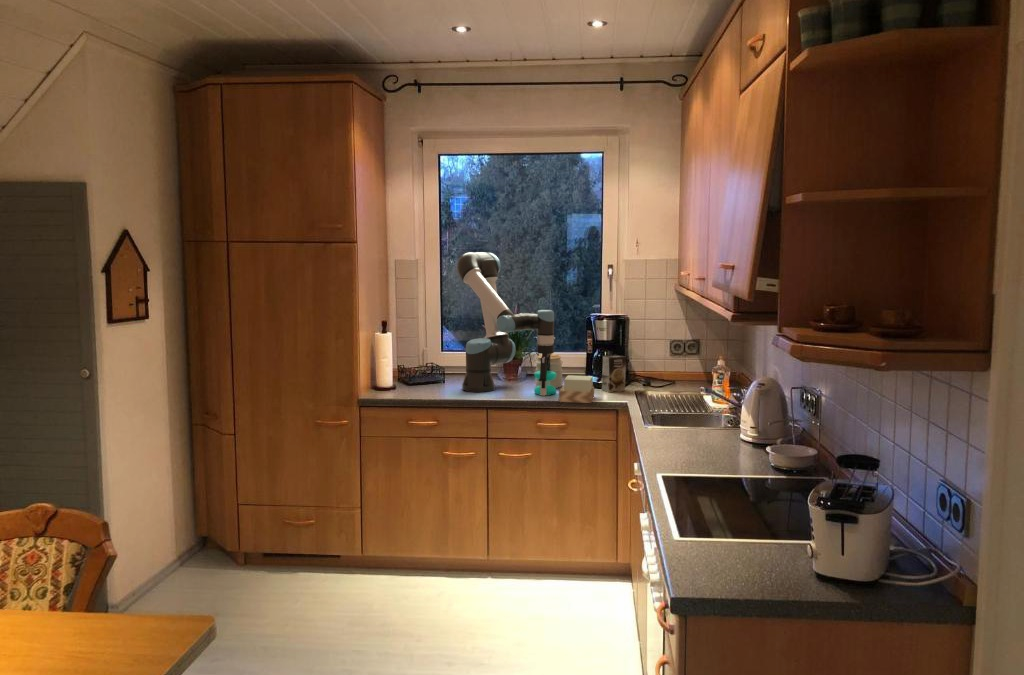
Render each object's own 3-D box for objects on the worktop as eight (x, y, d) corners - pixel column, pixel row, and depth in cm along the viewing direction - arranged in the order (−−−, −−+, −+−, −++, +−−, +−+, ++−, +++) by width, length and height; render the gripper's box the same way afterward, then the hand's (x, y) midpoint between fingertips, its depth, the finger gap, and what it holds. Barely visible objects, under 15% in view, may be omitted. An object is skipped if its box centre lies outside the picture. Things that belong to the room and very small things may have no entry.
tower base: (558, 402, 332) (558, 391, 331) (562, 396, 346) (562, 385, 345) (591, 403, 329) (591, 392, 329) (594, 397, 343) (594, 386, 342)
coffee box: (609, 392, 353) (610, 357, 351) (601, 390, 359) (602, 355, 357) (625, 390, 357) (626, 356, 355) (617, 388, 363) (618, 354, 361)
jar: (539, 389, 361) (539, 351, 359) (532, 384, 373) (532, 348, 371) (566, 388, 364) (566, 351, 362) (558, 383, 376) (558, 347, 374)
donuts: (547, 369, 356) (560, 372, 348) (546, 390, 357) (560, 394, 349) (529, 371, 350) (543, 374, 342) (529, 393, 351) (543, 396, 343)
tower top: (564, 390, 332) (564, 379, 332) (567, 386, 343) (568, 375, 342) (589, 391, 330) (589, 380, 329) (592, 387, 341) (592, 376, 340)
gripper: (550, 347, 336) (549, 398, 338) (557, 341, 358) (556, 389, 360) (533, 347, 337) (533, 397, 340) (541, 341, 359) (540, 388, 362)
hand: (545, 393), depth 350 cm, fingers closed on donuts, 10 cm apart
